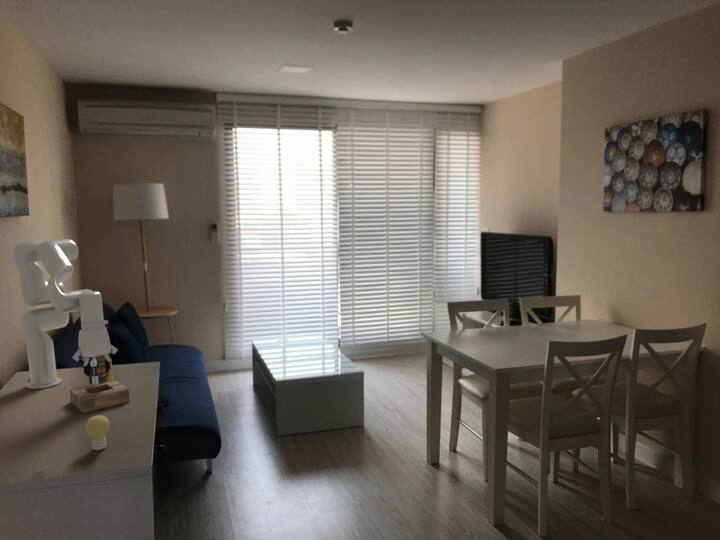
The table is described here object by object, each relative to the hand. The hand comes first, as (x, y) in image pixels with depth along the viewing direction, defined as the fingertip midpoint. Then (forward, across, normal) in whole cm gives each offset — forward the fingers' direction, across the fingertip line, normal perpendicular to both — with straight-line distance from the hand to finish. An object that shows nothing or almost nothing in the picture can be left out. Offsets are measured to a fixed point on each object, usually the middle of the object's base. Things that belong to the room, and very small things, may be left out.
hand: (97, 373), depth 209 cm
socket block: (+11, 0, 0) cm, 11 cm away
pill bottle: (+4, 0, 0) cm, 4 cm away
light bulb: (+11, +13, +44) cm, 47 cm away
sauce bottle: (+11, -6, -14) cm, 19 cm away
